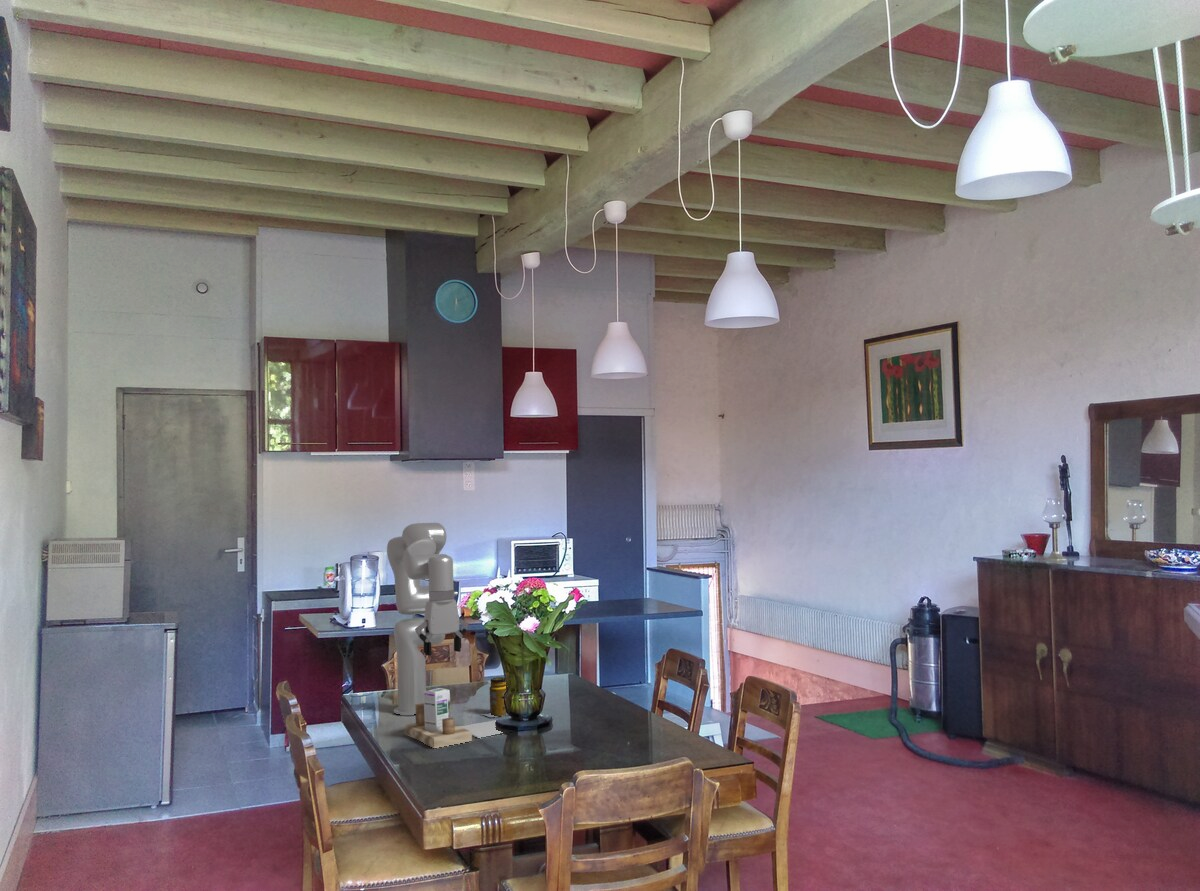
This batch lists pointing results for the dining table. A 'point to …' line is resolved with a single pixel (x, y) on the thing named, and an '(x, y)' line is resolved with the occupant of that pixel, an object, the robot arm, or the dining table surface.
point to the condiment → (497, 696)
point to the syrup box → (436, 708)
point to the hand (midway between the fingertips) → (442, 653)
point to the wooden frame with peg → (437, 739)
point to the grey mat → (482, 729)
